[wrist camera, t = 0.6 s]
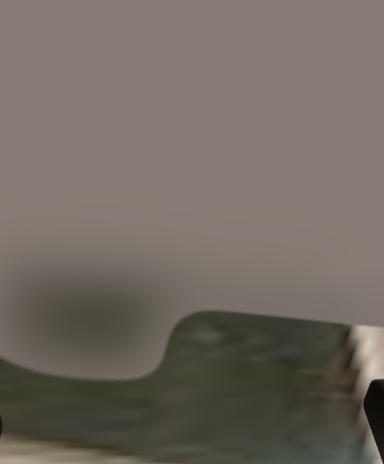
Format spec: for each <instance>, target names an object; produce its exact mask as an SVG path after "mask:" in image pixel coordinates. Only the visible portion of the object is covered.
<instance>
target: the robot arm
mask: <svg viewBox="0 0 384 464" xmlns="http://www.w3.org/2000/svg"><path fill="white" fill-rule="evenodd" d="M363 405H364V411H365V414H366V416H367V419H368V422H369V425H370V428H371V430H372V433H373V436H374V439H375V442H376V445H377V447H378V450H379V453H380V456H381V459H382V462H383V464H384V379H374V380H373V381H371V383H370V385H369V388H368V390H367V393H366V395H365V398H364V403H363ZM1 432H2V420H1V417H0V436H1Z"/></svg>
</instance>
